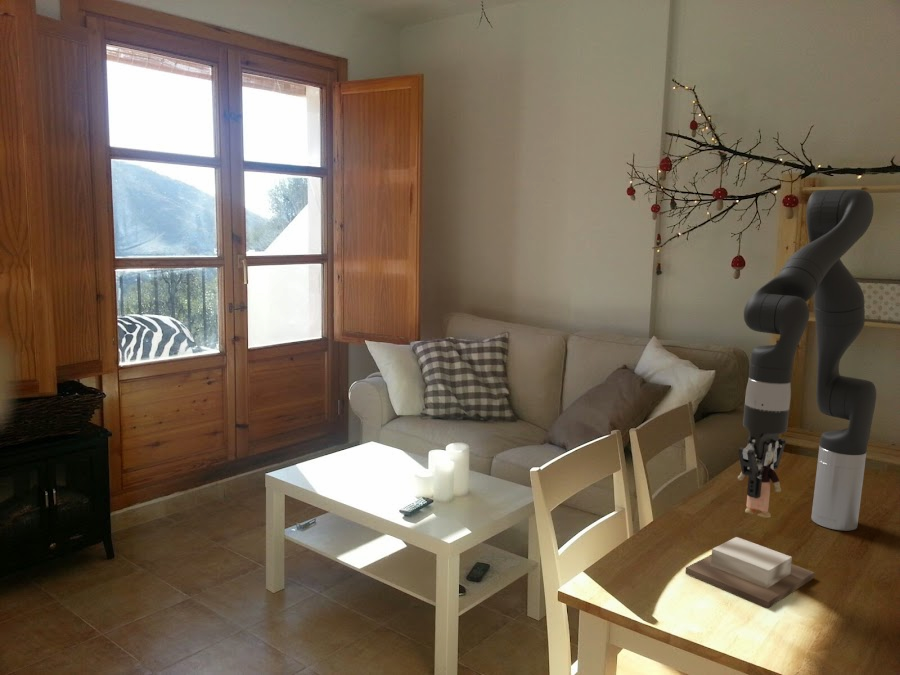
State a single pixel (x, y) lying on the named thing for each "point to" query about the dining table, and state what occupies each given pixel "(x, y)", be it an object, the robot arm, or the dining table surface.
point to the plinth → (748, 586)
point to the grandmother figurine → (762, 491)
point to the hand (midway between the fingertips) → (757, 494)
